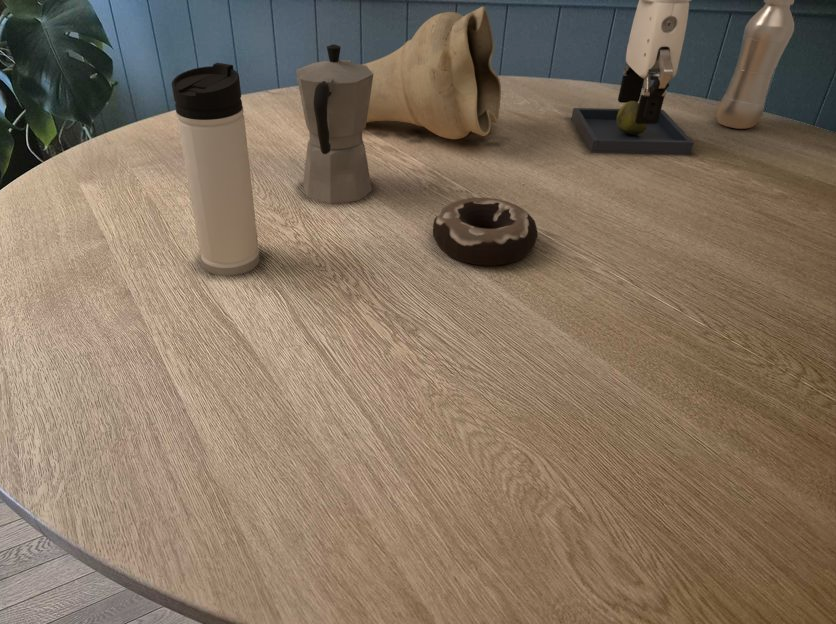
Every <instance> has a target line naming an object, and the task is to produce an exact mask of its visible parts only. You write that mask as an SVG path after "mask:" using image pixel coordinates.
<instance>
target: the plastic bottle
mask: <svg viewBox="0 0 836 624" xmlns="http://www.w3.org/2000/svg"><path fill="white" fill-rule="evenodd" d="M763 3H764V5H763V7H761V8H760V9H759V10H758V11H757V12H756V13H755V14H754V15H753V16H752V17H751V18H750V19H749V20H748V22H747V24H745V27H744V31H743V35H742V40H741V45H740V51H739V55H738V58H737V62H736V65H735V68H734V72H733V75H732V77H731V79H730V81H729V84H728V86H727V88H726V91H725V93H724V94H723V96H722V98H721V99H720V101H719V103H718V106H717V108H716V113H715V114H716V117H715V118H716V120H717V123H718V124H720V125H721V126H724V127H728V128H733V129H740V130H743V129H744V130H746V129H751V128H753V127H754V126H756V125H757V124H758V122H759V121H760V120H761V118H762V116H763V114H764V110H765V106H766V97H767V95H768V91H769V89H770V85H771V81H772V79H773V78H772V77H773V75H774V72H775V70H776V68H777V66H778V64H779V61H780V59H781V57H782V55H783V53H784V51H785V49H786V48H787V46H788V45H789V42H790V39H791V38H792V37H793V34H794V33H795V21H794V17H793V14H792V11H791V6H793V5H794V3H795V0H763Z"/></svg>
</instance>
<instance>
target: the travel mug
mask: <svg viewBox="0 0 836 624" xmlns="http://www.w3.org/2000/svg"><path fill="white" fill-rule="evenodd" d="M240 81H241V80H240V75H239V73H238V71H237V70H235V69H234V65H233V64H229V63H222V62H215V63H213V64H212V66H211V65H209V66H208V65H207V66H200V67H196V68H192V69H188V70H186V71H184V72H181V73H180V74H177V76H175V77H174V78H173V79H172V81H171V88H172V96H173V101H174V102H175V103H174V104H175V105H174V107H175V116H176V118H177V120H176V122H177V127H178V132H179V140H180V144H181V150H182V156H183V162H184V168H185V169H184V170H185V173H186V181H187V187H188V191H189V196H190V203H191V209H192V214H193V220H194V227H195V231H196V232H195V233H196V237H197V242H198V243H197V244H198V249H199V255H200V260H201V266H202V268H203V269H204V270H205V271H206V272H207V273H209V274H211V275H214V276H221V277H229V276H230V277H231V276H237V275H238V276H239V275H242V274H245V273H247V272H250V271H252V270H253V269H255V268H256V267H257V266H258V265H259V263H260V259H261V258H260V250H259V249H260V248H259V241H258V240H259V239H258V231H257V221H256V214H255V213H256V212H255V204H254V196H253V195H254V194H253V185H252V177H251V175H252V174H251V166H250V157H249V150H248V149H249V147H248V142H247V141H248V140H247V131H246V120H245V114H244V106H243V101H242V91H241V82H240Z"/></svg>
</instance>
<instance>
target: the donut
mask: <svg viewBox="0 0 836 624" xmlns="http://www.w3.org/2000/svg"><path fill="white" fill-rule="evenodd" d="M432 236H433V238H434V240H435V242H436V244H437V246H438V247H439V249H441V250H442V252H444V253H445V254H447V255H448V256H449V257H451V258H454V259H455V260H457V261H460V262H463V263H467V264H471V265H478V266H485V267H487V266H501V265H502V266H503V265H507V264H512V263H514V262H516V261H519V260H521V259H523V258H524V257H525V256H527V255H528V254H529V253H530V252H532V250H533V248H534V246H535V244H536V241H537V239H538V228H537V224H536V221H535V219H534V218H533V217H532V216H531V214H530V213H529V212H528V211H527V210H526V209H524V208H522V207H521V206H520V205H517V204H515V203H513V202H509V201H508V200H503V199H500V198H499V199H498V198H495V197H494V198H493V197H468V198H463V199H459V200H456V201H453V202H451V203H449V204H447V205H445V206H444V207H443V208H442V209H440V210H439V212H438V213H437V215H436V216H435V218H434V219H433V223H432Z"/></svg>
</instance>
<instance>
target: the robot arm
mask: <svg viewBox="0 0 836 624" xmlns="http://www.w3.org/2000/svg"><path fill="white" fill-rule="evenodd" d="M690 2H692V0H638V3H637V6H636V10H635V13H634V16H633V20H632V25H631V29H630V34H629V38H628V42H627V47H626V53H625V62H626V64H625V66H624V68H623V74H622V78H621V84H620V87H619V93H618V97H617V101H618V102H619V104H620V103H621V104H626V103H627V102H629V101H636V102H638V103H639V105H638V109H637V114H636V118H635V122H636V123H637V124H656V123H657V122H658V120H659V116H660V112H661V110H662V107H663V103H664V99H665V97H666V95H667V90H668V89H669V87H670V81H671V79H673V78H674V77H676V75H677V73H678V69H679V65H680V59H681V55H682V50H683V47H684V46H683V45H684V42H685V41H684V40H685V36H686V31H687V26H688V19H689V18H688V17H689V12H690V11H689V10H690ZM651 81H653V83H652V82H651ZM642 91H643V94H642Z"/></svg>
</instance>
